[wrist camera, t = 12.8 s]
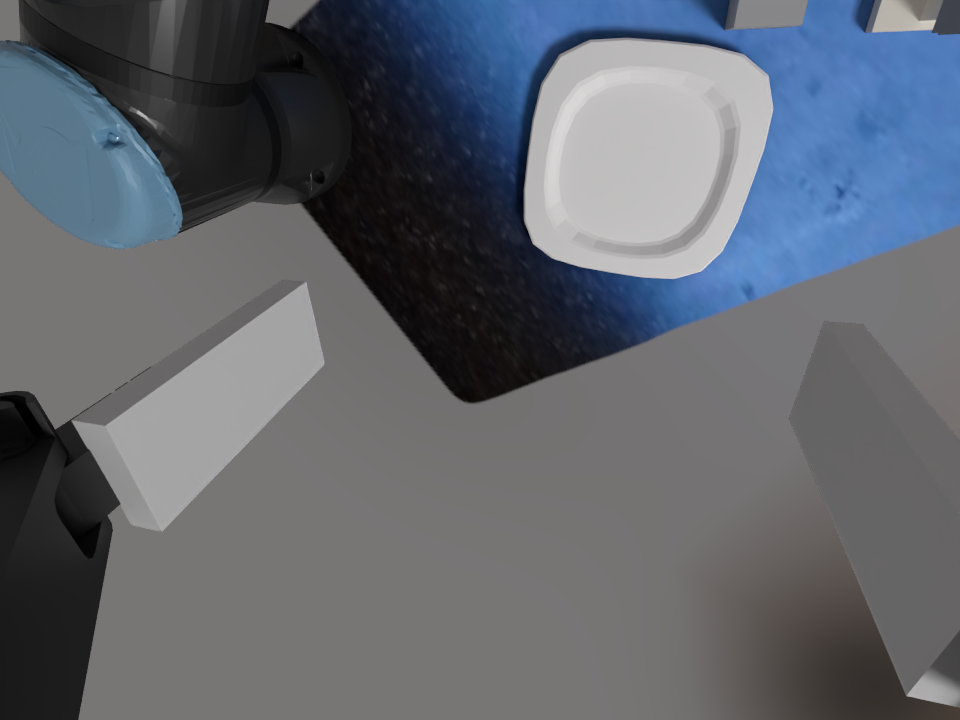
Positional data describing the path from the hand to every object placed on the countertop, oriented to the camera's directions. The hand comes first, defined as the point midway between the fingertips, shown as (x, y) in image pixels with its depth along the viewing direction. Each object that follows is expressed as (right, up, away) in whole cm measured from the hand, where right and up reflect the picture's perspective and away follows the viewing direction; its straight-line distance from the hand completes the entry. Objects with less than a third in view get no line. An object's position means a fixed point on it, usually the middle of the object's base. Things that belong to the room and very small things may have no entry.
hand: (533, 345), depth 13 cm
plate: (+12, +16, +29) cm, 35 cm away
